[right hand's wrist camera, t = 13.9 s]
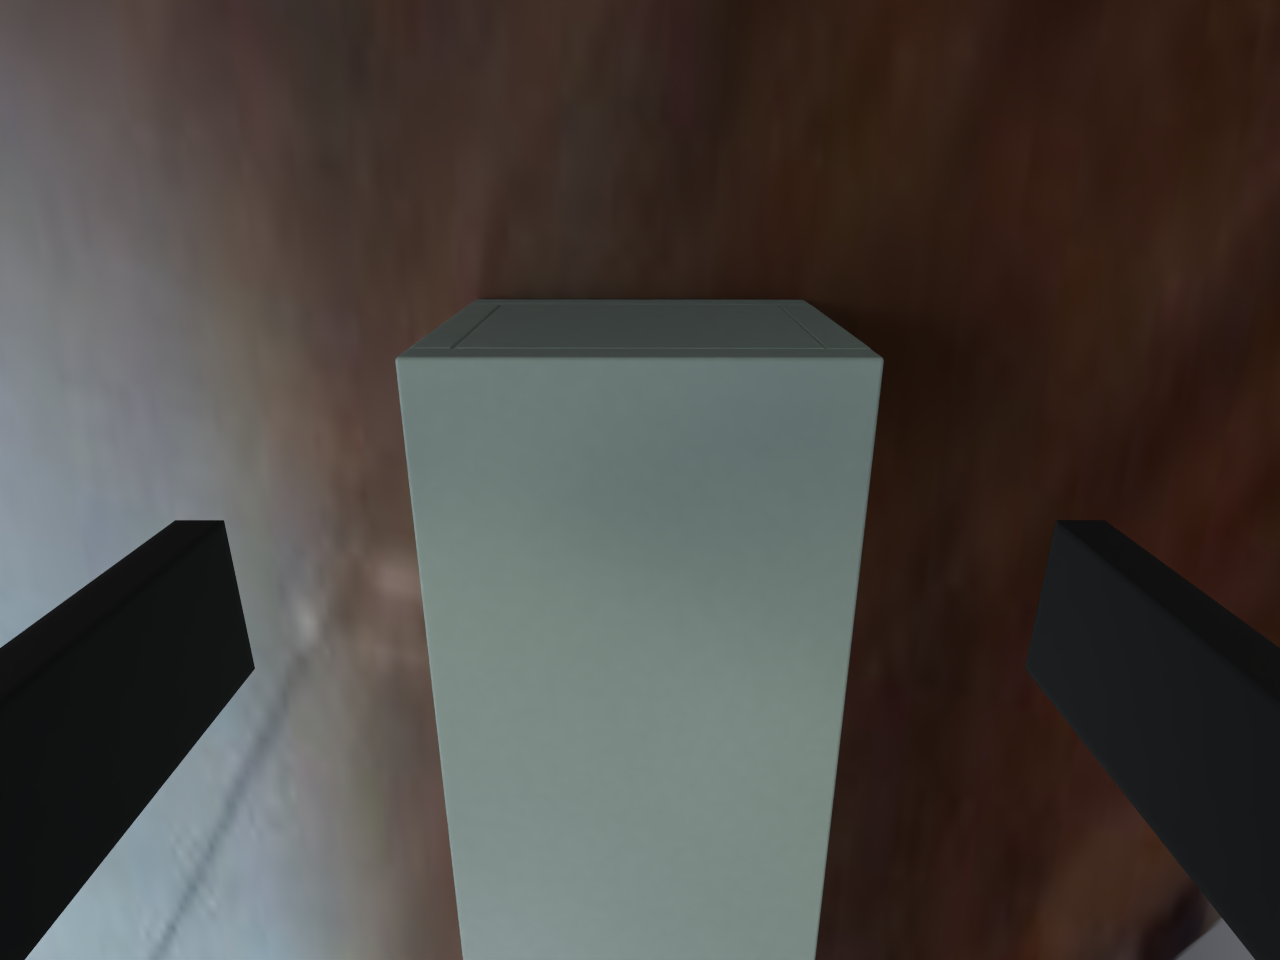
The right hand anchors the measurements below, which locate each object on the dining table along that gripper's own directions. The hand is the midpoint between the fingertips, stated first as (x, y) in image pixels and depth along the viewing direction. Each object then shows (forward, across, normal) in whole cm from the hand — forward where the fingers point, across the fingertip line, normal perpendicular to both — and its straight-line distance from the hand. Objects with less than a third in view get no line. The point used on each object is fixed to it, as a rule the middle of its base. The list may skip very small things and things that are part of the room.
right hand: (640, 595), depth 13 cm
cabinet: (+13, 0, -8) cm, 16 cm away
